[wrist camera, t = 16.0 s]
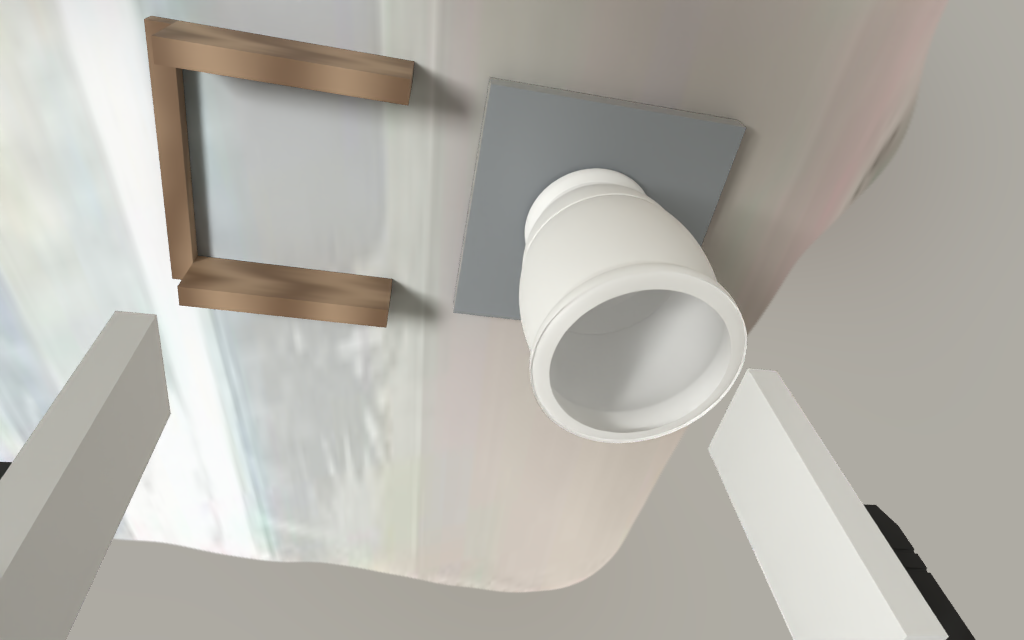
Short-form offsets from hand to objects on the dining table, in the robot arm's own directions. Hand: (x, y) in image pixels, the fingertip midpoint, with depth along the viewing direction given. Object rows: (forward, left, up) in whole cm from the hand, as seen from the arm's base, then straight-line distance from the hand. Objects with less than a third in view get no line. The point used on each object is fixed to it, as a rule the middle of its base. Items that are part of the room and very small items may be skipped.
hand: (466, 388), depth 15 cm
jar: (+10, -8, -28) cm, 31 cm away
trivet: (+10, -8, -29) cm, 32 cm away
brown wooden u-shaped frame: (-9, -8, -29) cm, 32 cm away
